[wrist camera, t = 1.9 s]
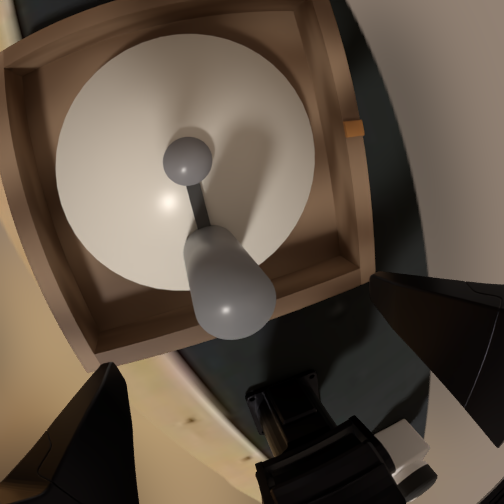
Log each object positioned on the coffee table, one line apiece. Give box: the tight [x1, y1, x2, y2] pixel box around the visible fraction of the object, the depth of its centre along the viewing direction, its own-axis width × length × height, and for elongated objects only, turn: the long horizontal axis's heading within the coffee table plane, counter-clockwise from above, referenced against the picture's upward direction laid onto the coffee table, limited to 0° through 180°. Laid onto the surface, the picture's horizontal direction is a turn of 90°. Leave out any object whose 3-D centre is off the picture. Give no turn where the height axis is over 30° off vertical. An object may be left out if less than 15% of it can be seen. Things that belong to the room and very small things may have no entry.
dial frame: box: [0, 0, 375, 373], centre depth 15 cm, size 19×19×4 cm
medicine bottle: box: [374, 419, 437, 502], centre depth 29 cm, size 7×7×12 cm
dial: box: [56, 34, 315, 340], centre depth 12 cm, size 14×14×7 cm
